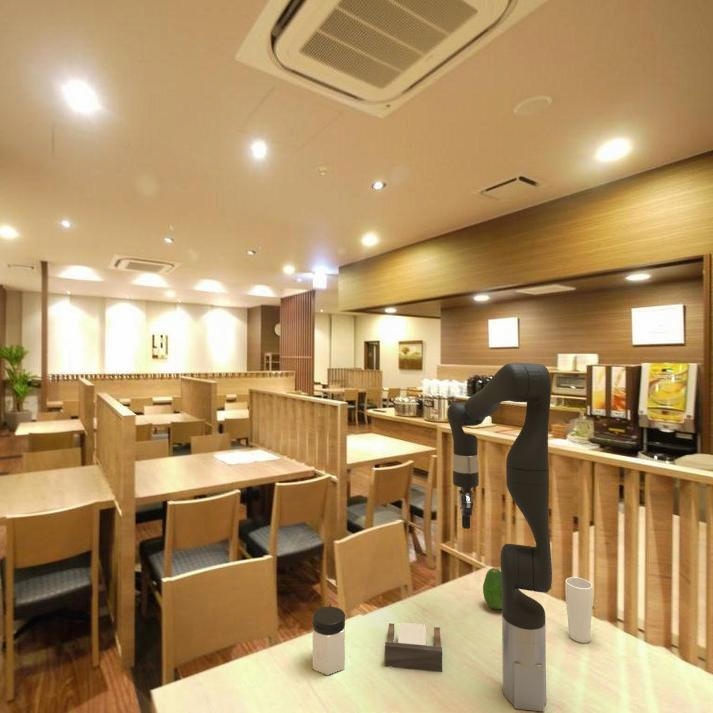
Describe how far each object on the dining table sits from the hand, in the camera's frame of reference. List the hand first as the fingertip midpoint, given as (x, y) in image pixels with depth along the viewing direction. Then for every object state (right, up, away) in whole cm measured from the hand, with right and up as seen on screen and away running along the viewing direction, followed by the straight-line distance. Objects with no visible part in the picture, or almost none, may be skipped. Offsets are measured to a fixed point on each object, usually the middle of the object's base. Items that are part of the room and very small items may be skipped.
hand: (466, 527), depth 130 cm
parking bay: (-18, -26, -16) cm, 35 cm away
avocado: (+11, -27, +4) cm, 29 cm away
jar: (-40, -26, -21) cm, 52 cm away
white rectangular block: (-18, -26, -16) cm, 35 cm away
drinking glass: (+29, -26, -10) cm, 40 cm away
